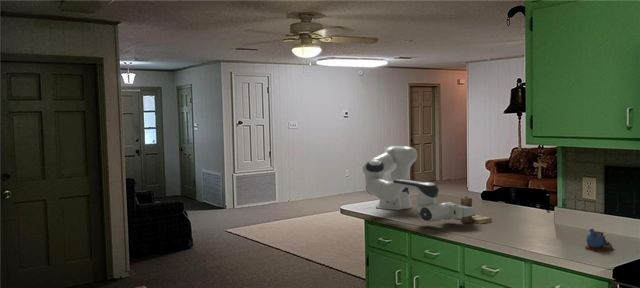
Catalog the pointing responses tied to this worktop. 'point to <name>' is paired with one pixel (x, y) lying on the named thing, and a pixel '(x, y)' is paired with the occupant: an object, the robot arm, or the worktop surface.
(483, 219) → the board
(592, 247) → the model
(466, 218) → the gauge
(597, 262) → the worktop surface
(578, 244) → the worktop surface
